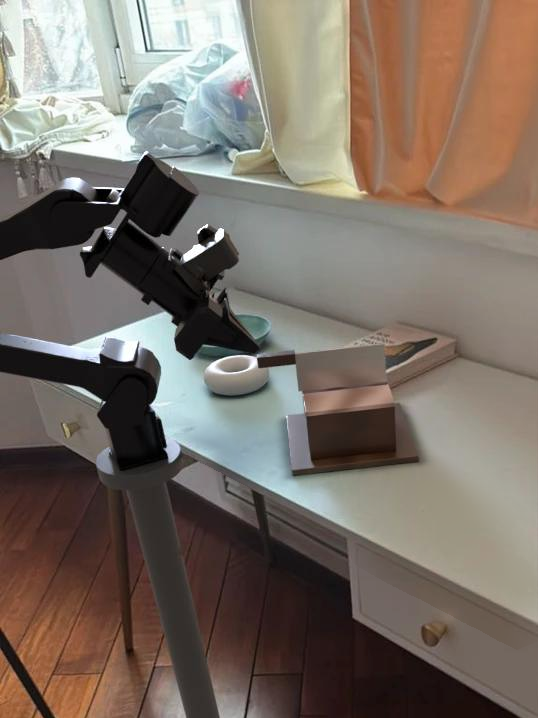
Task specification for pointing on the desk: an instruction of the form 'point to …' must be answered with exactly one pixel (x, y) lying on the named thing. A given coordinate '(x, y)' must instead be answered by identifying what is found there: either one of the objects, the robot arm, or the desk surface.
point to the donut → (235, 375)
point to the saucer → (256, 328)
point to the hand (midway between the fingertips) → (257, 350)
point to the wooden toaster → (349, 430)
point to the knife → (332, 366)
